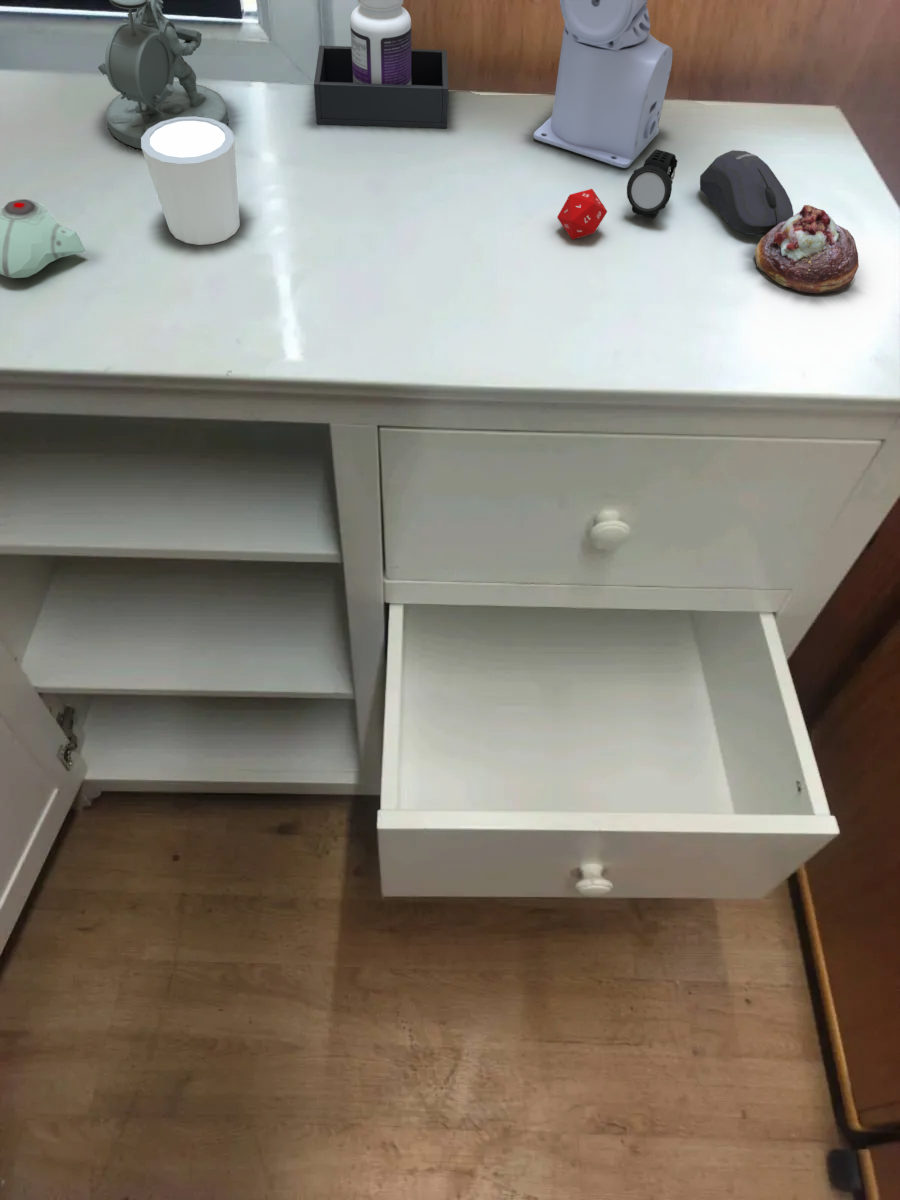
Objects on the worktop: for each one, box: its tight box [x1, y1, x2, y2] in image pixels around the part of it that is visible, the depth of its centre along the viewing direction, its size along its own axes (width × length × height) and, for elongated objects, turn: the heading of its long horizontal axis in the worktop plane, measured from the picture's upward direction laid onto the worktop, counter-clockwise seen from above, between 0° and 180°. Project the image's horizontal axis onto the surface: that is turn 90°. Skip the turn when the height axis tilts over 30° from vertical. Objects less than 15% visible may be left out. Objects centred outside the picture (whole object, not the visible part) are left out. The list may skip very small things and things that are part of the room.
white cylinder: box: [141, 116, 241, 246], centre depth 69 cm, size 7×7×7 cm
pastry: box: [754, 204, 859, 294], centre depth 69 cm, size 8×8×5 cm
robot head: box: [0, 198, 87, 279], centre depth 66 cm, size 8×4×7 cm
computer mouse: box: [699, 149, 795, 235], centre depth 74 cm, size 6×9×4 cm, turn 22°
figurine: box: [97, 0, 229, 150], centre depth 76 cm, size 11×11×12 cm
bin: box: [313, 45, 449, 129], centre depth 82 cm, size 12×8×4 cm, turn 91°
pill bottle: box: [349, 0, 412, 85], centre depth 79 cm, size 5×5×10 cm
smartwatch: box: [626, 148, 678, 220], centre depth 73 cm, size 4×5×5 cm
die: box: [556, 188, 608, 240], centre depth 72 cm, size 4×4×4 cm
